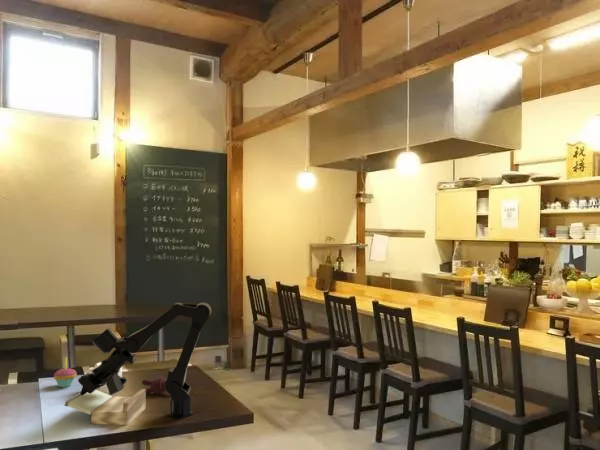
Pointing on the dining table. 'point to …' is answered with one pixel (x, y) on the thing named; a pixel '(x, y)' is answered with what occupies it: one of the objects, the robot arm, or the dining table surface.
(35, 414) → the dining table surface
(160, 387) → the icecream
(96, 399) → the panel
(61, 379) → the cupcake
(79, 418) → the dining table surface
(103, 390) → the mug
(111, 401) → the cream and gold block
